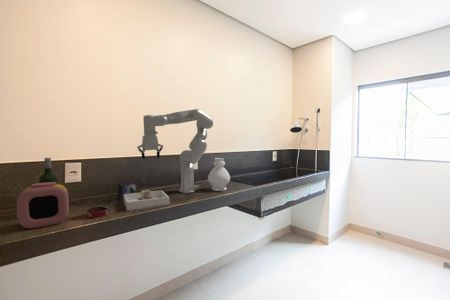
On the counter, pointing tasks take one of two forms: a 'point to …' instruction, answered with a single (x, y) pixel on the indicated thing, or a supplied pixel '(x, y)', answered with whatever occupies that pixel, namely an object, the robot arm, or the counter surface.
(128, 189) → the small box
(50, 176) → the wine bottle
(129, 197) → the walled box
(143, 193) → the plug
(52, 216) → the alarm clock
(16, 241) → the counter surface
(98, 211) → the canned food
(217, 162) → the decorative vase
